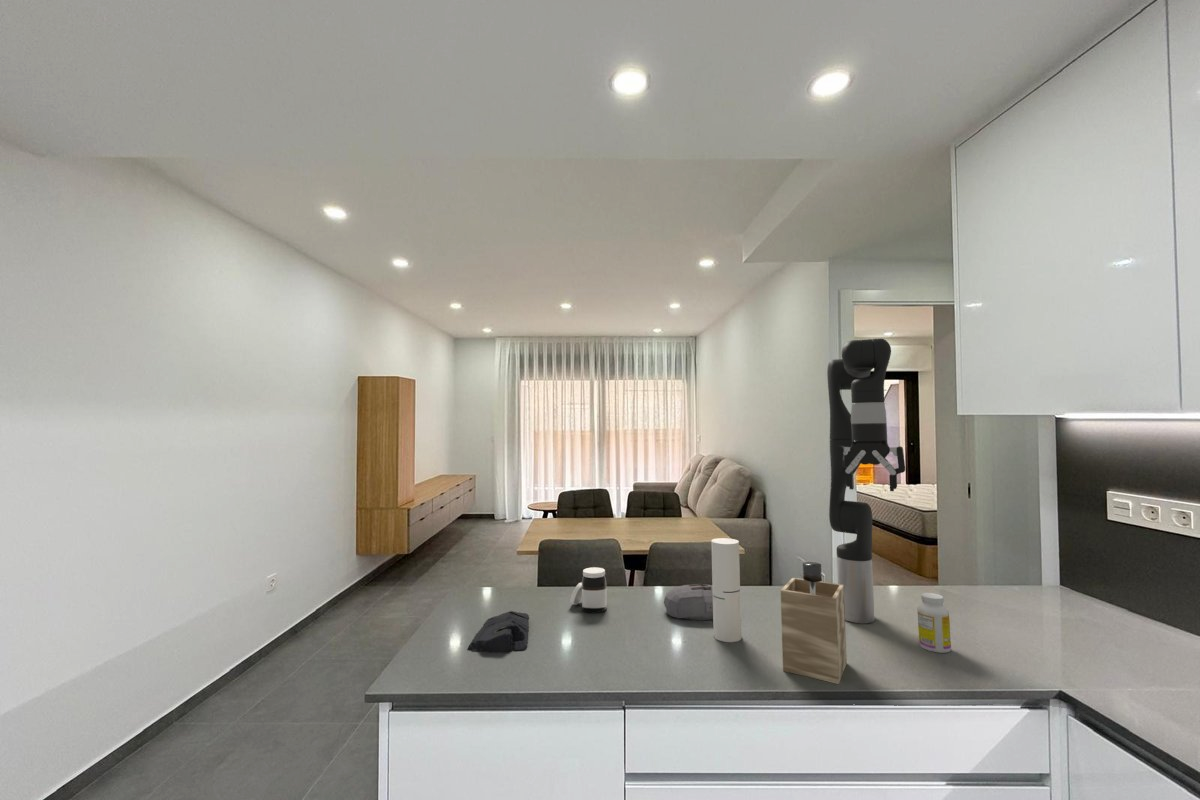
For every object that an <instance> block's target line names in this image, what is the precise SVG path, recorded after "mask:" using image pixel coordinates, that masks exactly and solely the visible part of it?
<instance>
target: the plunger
mask: <svg viewBox="0 0 1200 800" xmlns="http://www.w3.org/2000/svg"><path fill="white" fill-rule="evenodd" d="M822 575H823V574H822V564H821V563H819V562H814V561H804V562H802V579H804V580H806V581H810V594H815V595H816V590H815V582H820V581H821V582H823V580H822Z"/></svg>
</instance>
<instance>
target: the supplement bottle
mask: <svg viewBox="0 0 1200 800" xmlns="http://www.w3.org/2000/svg"><path fill="white" fill-rule="evenodd" d="M920 597H921V598H920V599H921V601H922V602H921V603H919V604H918V605H917V609H916V610H917V625H918V629H917V630H918V641H919V642H918V643H919V646H920V647H921V648H923V649H925V650H926V651H929V652H933V653H937V654H944V653H945V654H946V653H949V652H951V650H952V641H951V628H950V627H951V626H950V625H951V624H950V612H949V609H948V608H947V607H946V606H944V605H943V604H944V601H945V600H944V596H943V595H941V594H938V593H933V592H922V593H921V595H920Z"/></svg>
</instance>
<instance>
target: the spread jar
mask: <svg viewBox="0 0 1200 800" xmlns="http://www.w3.org/2000/svg"><path fill="white" fill-rule="evenodd" d="M605 575H606V569H604V568H603V567H595V566H593V567H587V568H584V569H583V570H582V580H581V582H578V584H577V585H576V586H575V587H574V588H573V591H572V593H571V596H570V603H571V604H572V605H574V606H577V605H578V604H580V603H581V608H582V610H583V611H585V612H586V611H587V613H592V612H593V613H601V612H604V611H606V609H607V605H608V603H607V602H608V600H607V599H608V596H607V594H608V593H607V585H608V584H607V578H606V576H605Z"/></svg>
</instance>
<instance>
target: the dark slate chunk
mask: <svg viewBox="0 0 1200 800" xmlns="http://www.w3.org/2000/svg"><path fill="white" fill-rule="evenodd" d="M529 620H530V615H529V614H528V613H525V612H520V611H519V612H518V611H512V610H511V611H507V612H504V613H501V614H498V615H495V616H493V617H490V618H488V619H487V620H486V621H485V622H484V624H483V625H482V627H480V629H479V631H477V632H476V634H475V635H474V637H473V638H472V640H471V642H470V644H469V645H468V646H467V650H468V651H470V650H471V653H483V652H484V653H492V654H493V653H497V654H498V653H509V652H518V651H525V650H526V649H527V648H528V643H529V642H528V641H529V631H530V630H529V629H530V624H529V623H530V622H529Z"/></svg>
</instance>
